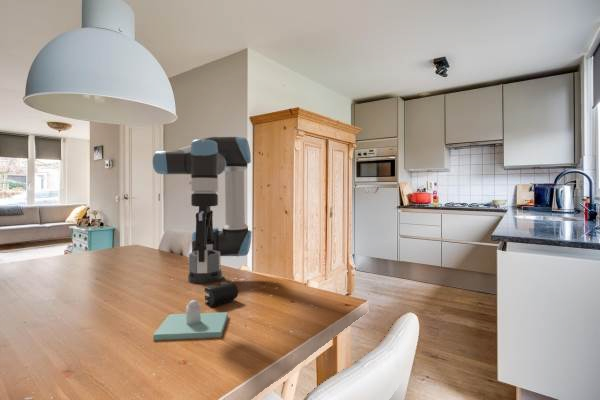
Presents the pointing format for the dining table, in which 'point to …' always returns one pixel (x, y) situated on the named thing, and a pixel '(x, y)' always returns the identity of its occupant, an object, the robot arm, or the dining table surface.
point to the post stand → (192, 324)
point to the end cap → (221, 293)
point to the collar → (212, 261)
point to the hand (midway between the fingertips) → (205, 268)
